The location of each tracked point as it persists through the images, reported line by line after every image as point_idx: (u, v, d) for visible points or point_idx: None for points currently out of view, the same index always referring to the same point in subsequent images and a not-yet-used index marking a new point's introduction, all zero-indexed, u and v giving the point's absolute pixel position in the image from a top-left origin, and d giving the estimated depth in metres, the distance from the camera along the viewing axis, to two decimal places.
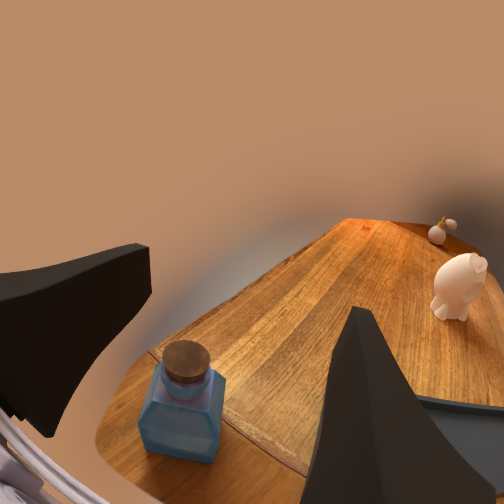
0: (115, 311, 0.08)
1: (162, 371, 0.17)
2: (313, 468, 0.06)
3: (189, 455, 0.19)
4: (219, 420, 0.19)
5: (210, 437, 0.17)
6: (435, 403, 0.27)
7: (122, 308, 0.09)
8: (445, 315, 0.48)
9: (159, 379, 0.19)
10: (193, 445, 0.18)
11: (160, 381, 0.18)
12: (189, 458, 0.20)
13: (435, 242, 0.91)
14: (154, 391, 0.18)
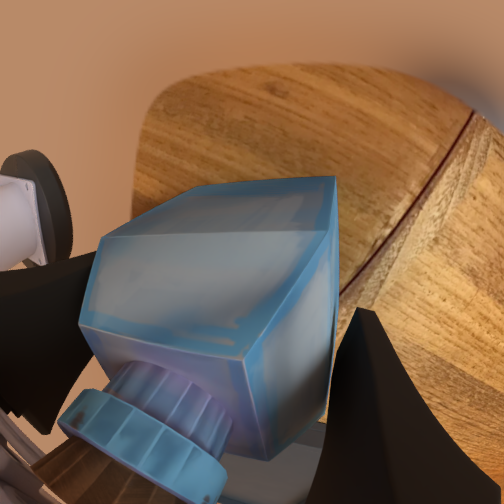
0: None
1: (64, 425, 0.03)
2: (318, 469, 0.06)
3: None
4: None
5: None
6: None
7: None
8: None
9: (142, 343, 0.05)
10: None
11: (136, 347, 0.05)
12: None
13: None
14: (106, 324, 0.05)
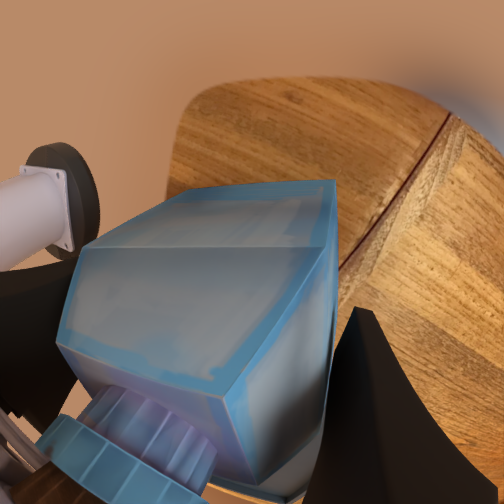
0: None
1: None
2: (315, 468, 0.06)
3: None
4: None
5: None
6: None
7: None
8: None
9: (117, 369, 0.04)
10: None
11: (111, 372, 0.04)
12: None
13: None
14: (82, 345, 0.05)
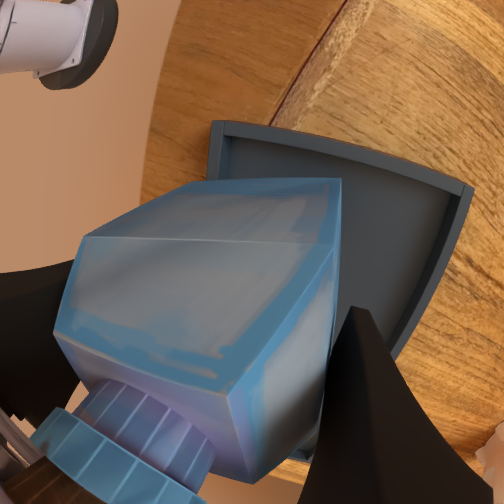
0: None
1: (35, 445, 0.03)
2: (311, 468, 0.06)
3: None
4: None
5: None
6: None
7: None
8: (499, 432, 0.20)
9: (116, 364, 0.04)
10: None
11: (111, 367, 0.04)
12: None
13: None
14: (80, 338, 0.04)
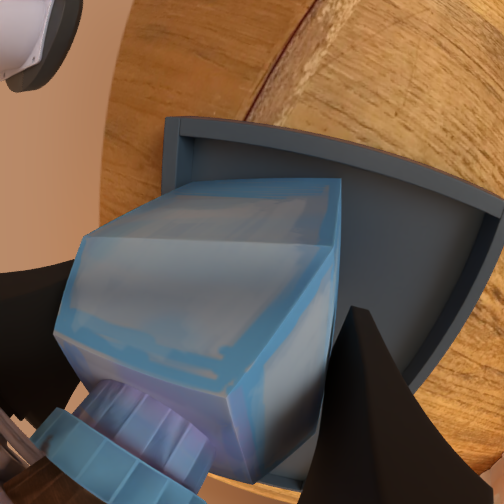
0: None
1: None
2: (311, 468, 0.06)
3: None
4: None
5: None
6: None
7: None
8: None
9: (116, 364, 0.04)
10: None
11: (110, 367, 0.04)
12: None
13: None
14: (80, 338, 0.04)
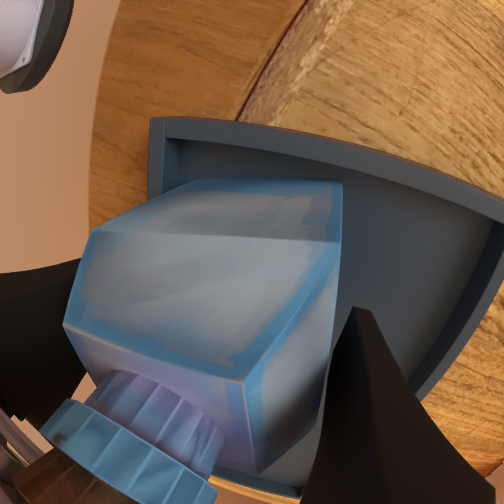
0: None
1: (46, 437, 0.03)
2: (313, 468, 0.06)
3: None
4: None
5: None
6: None
7: None
8: None
9: (130, 354, 0.04)
10: None
11: (124, 357, 0.04)
12: None
13: None
14: (92, 329, 0.05)
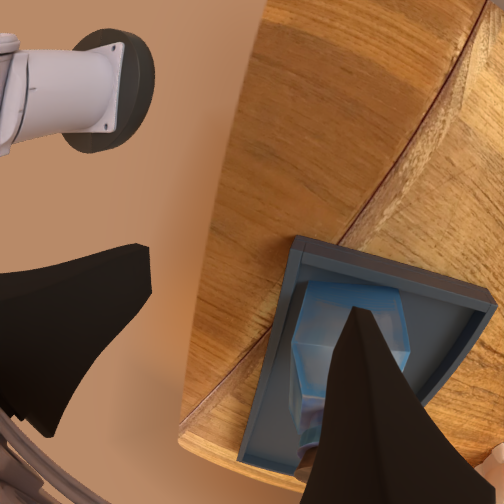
0: (115, 311, 0.08)
1: None
2: (313, 468, 0.06)
3: None
4: None
5: (289, 405, 0.16)
6: None
7: (122, 308, 0.09)
8: (494, 454, 0.21)
9: None
10: None
11: None
12: None
13: None
14: (322, 395, 0.12)
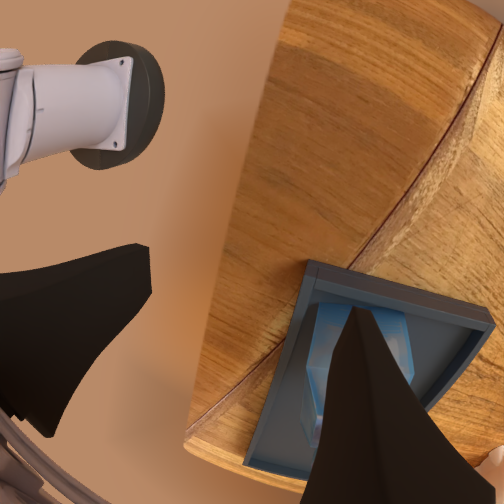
0: (115, 311, 0.08)
1: None
2: (313, 468, 0.06)
3: None
4: None
5: (301, 419, 0.16)
6: None
7: (122, 308, 0.09)
8: (491, 457, 0.22)
9: None
10: None
11: None
12: None
13: None
14: None
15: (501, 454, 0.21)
